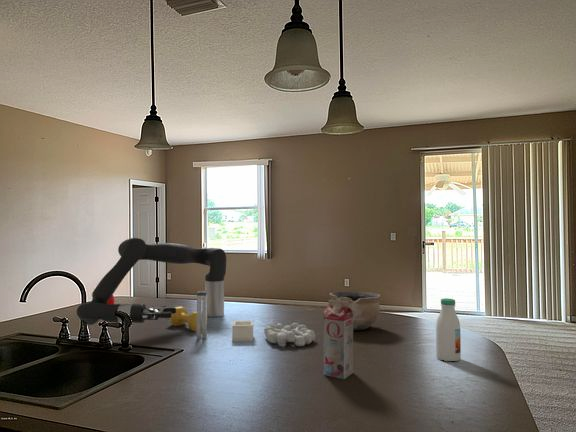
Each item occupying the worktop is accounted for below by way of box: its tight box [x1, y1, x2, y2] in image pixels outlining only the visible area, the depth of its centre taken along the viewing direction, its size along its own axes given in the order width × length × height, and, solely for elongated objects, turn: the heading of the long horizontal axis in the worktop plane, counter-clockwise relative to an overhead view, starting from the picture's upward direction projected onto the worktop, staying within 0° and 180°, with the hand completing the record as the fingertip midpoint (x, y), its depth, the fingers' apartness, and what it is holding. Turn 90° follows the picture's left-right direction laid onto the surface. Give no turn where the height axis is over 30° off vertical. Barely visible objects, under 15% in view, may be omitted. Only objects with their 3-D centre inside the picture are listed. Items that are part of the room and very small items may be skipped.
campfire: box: [264, 322, 316, 347], centre depth 167 cm, size 22×21×6 cm
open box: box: [231, 320, 254, 342], centre depth 170 cm, size 8×8×6 cm
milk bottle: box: [435, 297, 462, 362], centre depth 145 cm, size 8×8×20 cm
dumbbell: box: [168, 305, 209, 333], centre depth 187 cm, size 19×9×8 cm, turn 47°
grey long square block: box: [196, 290, 208, 340], centre depth 170 cm, size 4×4×18 cm
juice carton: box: [323, 299, 354, 380], centre depth 130 cm, size 7×7×22 cm
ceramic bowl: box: [329, 290, 381, 331], centre depth 187 cm, size 22×22×15 cm
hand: (173, 312), depth 170 cm, fingers open, 8 cm apart
